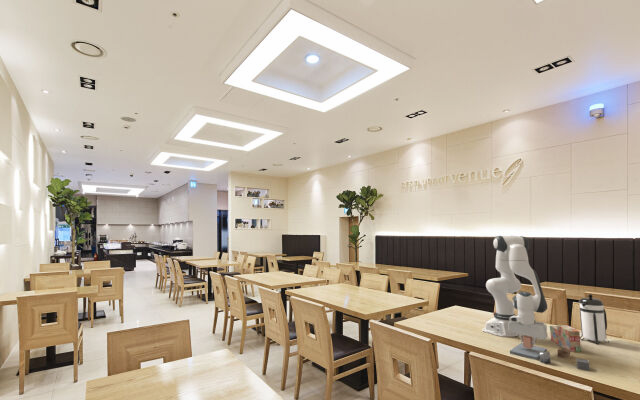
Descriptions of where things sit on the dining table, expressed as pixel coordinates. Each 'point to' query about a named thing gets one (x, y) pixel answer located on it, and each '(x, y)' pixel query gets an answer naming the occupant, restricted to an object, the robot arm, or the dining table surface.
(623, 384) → the dining table surface
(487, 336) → the dining table surface
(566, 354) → the walnut block
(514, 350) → the slate board
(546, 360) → the dark metal cylinder
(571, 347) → the stack of blocks
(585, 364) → the charcoal rubber cube
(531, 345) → the terracotta block
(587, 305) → the coffee press
